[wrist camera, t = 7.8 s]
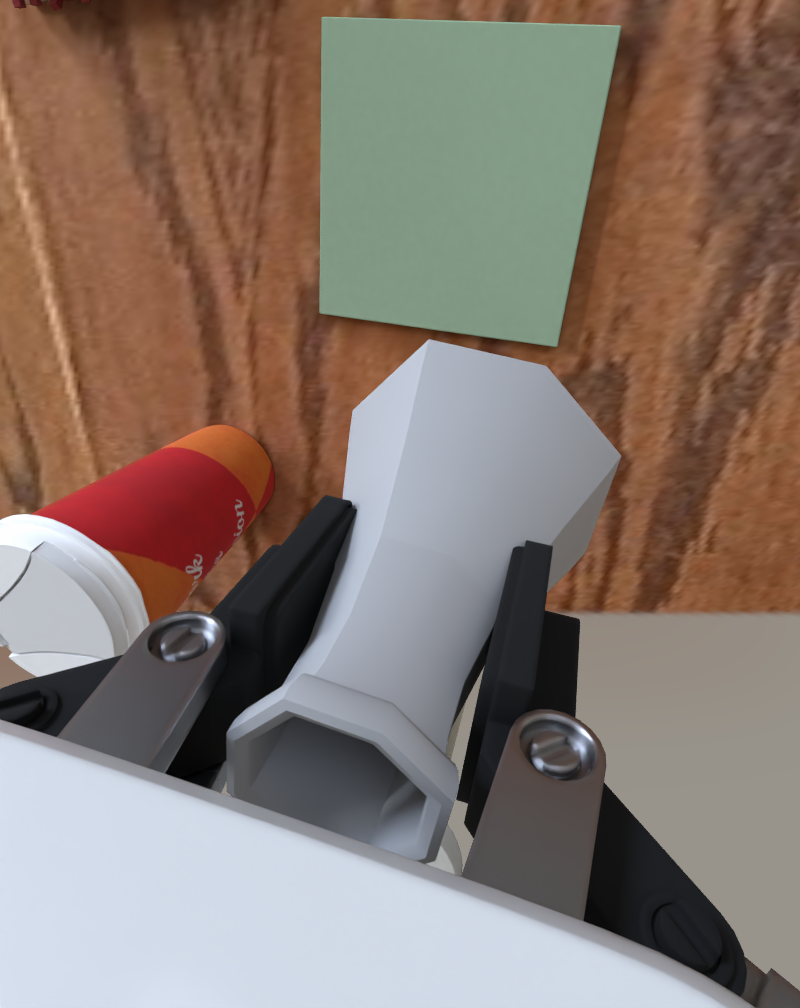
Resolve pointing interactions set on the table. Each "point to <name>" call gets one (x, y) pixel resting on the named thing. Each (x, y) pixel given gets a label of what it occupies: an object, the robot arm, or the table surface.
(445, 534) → the flask
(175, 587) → the paper cup
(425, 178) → the coaster
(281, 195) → the table surface
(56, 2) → the woven mat
